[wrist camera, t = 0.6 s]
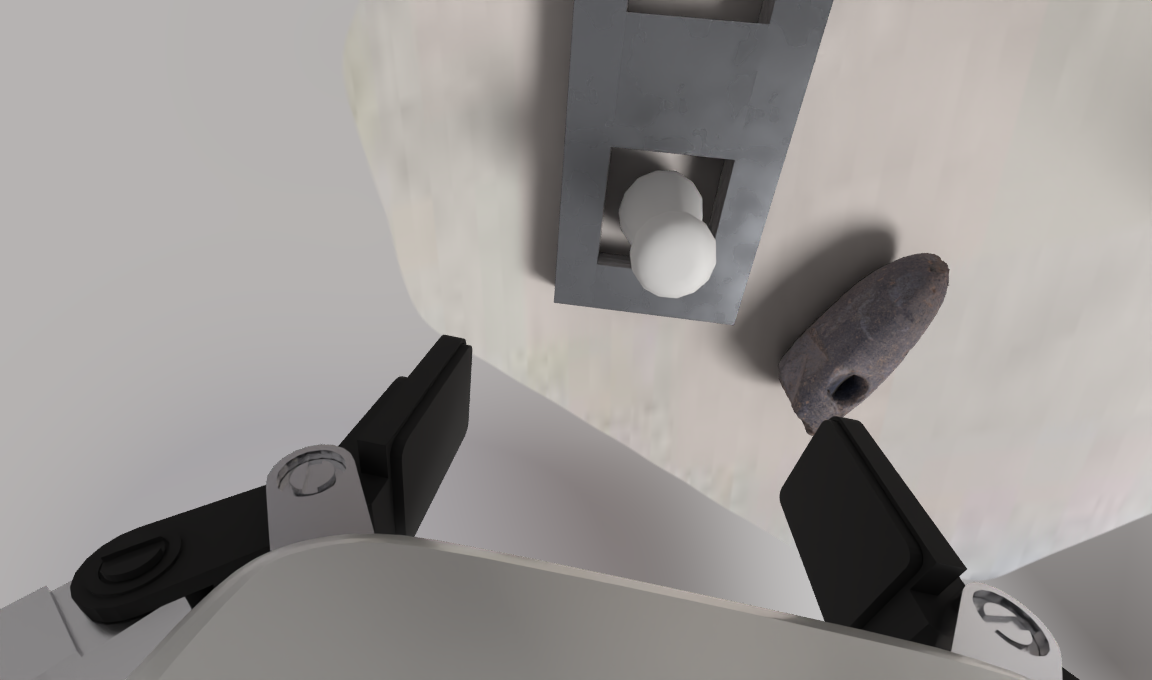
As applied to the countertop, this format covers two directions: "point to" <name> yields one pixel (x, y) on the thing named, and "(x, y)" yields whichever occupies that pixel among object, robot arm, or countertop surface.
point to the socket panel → (680, 135)
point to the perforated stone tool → (862, 338)
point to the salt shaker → (667, 234)
